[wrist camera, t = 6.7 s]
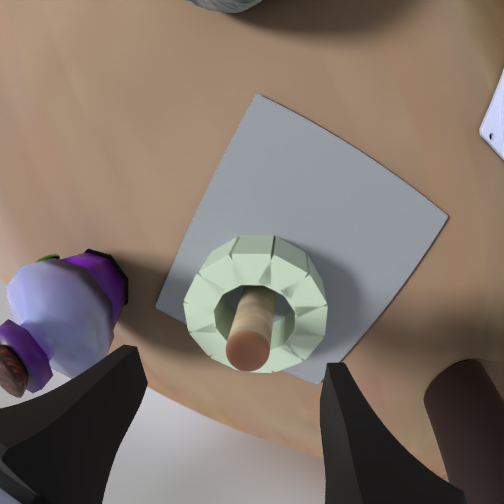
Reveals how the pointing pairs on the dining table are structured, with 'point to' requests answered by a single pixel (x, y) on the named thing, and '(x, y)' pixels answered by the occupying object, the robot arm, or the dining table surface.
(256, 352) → the wooden dowel
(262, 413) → the dining table surface
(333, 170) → the mat
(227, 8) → the yarn skein
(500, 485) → the vinegar
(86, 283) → the potion bottle
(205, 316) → the bead
